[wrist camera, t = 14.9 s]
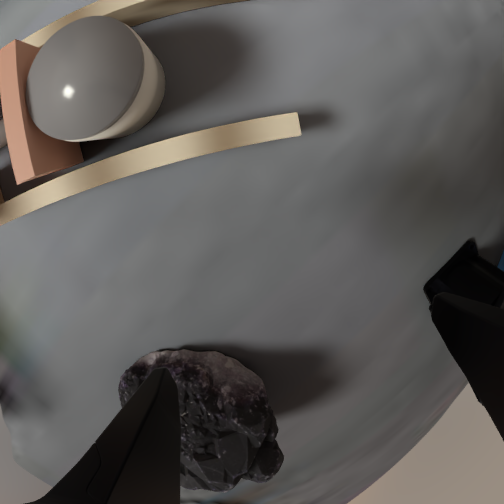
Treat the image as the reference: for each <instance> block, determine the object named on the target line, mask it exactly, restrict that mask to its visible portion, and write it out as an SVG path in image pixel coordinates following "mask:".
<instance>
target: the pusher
mask: <svg viewBox="0 0 504 504" xmlns="http://www.w3.org/2000/svg"><path fill="white" fill-rule="evenodd" d="M40 49H41V48H38V47H36V46H33V45H30V44H28V43H25V42H22V41H19V40H16V39H15V40H13V41H12V42H10V43H9V44H7V45H6V46H5V47H3V48H2V49H0V95H1V104H2V112H3V119H2V120H0V149H1V148H2V147H4V146H5V145H7V144H8V148H9V153H10V157H11V162H12V166H13V170H14V175H15V178H16V182H17V185H18V184H21V183H24V182H27V181H29V180H32V179H35V178H38V177H41V176H44V175H47V174H50V173H53V172H56V171H60V170H63V169H66V168H69V167H72V166H74V165H77V164H79V163H82V162H84V160H83V156H82V152H81V148H80V144H79V142H71V141H65V140H60V139H56V138H53V137H51V136H49V135H47V134H45V133H44V132H42V131H41V130H40V129H39V128H38V127H37V126H36V125H35V123H34V122H33V120H32V118H31V116H30V114H29V111H28V108H27V103H26V83H27V78H28V74H29V71H30V68H31V65H32V63H33V61H34V59H35V57H36V55H37V54H38V52H39V50H40Z"/></svg>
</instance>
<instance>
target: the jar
mask: <svg viewBox="0 0 504 504" xmlns="http://www.w3.org/2000/svg"><path fill="white" fill-rule="evenodd" d="M165 83H166V81H165V74H164V70H163V68H162V65H161V63H160V62H159V60H158V59H157V58H156V56H155V55H154V54H153V53H152V51H151V50H150V49H149V48H148V46H147V45H146V44H145V43H144V42H143V40H142V39H141V38H140V37H139V35H138V34H137V33H136V32H135V31H134V30H133V29H132V28H131V27H129V26H128V25H126V24H124V23H122V22H121V21H119V20H117V19H114V18H111V17H107V16H89V17H85V18H81V19H78V20H76V21H73V22H71V23H69V24H67V25H65V26H64V27H62V28H61V29H60V30H58V31H57V32H56V33H55V34H53V35H52V36H51V37H50V38H49V39H48V40H47V41H46V43H45V44H44V45H43V46H42V48H41V49H40V50H39V52H38V54H37V55H36V57H35V59H34V61H33V63H32V65H31V68H30V71H29V74H28V78H27V83H26V103H27V108H28V111H29V114H30V116H31V118H32V120H33V122H34V123H35V125H36V126H37V127H38V128H39V129H40V130H41V131H42V132H44V133H45V134H47V135H49V136H51V137H53V138H56V139H60V140H65V141H71V142H80V141H89V140H100V139H112V138H121V137H125V136H128V135H130V134H133V133H134V132H136V131H138V130H139V129H141V128H142V127H144V126H145V125H146V124H147V123H148V122H149V121H150V120H151V119H152V118H153V117H154V115H155V114H156V112H157V111H158V109H159V107H160V105H161V103H162V100H163V97H164V93H165Z"/></svg>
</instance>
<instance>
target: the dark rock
mask: <svg viewBox="0 0 504 504" xmlns="http://www.w3.org/2000/svg"><path fill="white" fill-rule="evenodd" d="M161 367H166V368H168V370H169V371H170V373H171V375H172V377H173V379H174V381H175V383H176V385H177V388H178V398H179V411H180V423H181V457H180V486H182V487H184V488H186V489H191V490H196V489H204V490H211V491H215V492H225V493H226V492H228V491H229V490H231V489H233V488H234V487H235V486H236V484H237V483H238V482H239V481H240V479H241V478H243V479H246V480H251V481H255V482H258V483H263V482H267V481H269V480H270V479H272V478H273V477H274V476H275V474H276V473H277V472H278V471H279V469H280V467H281V465H282V463H283V460H284V455H283V453H282V451H281V450H280V448H279V446H278V443H277V441H276V440H275V438H276V436H277V433H278V427H277V424H276V419H275V417H274V415H273V411H272V410H271V407H270V406H269V404H268V398H267V392H266V389H265V386H264V383H263V381H262V379H261V378H260V377H259V376H258V375H256V374H255V373H254V372H253V371H251V370H249V369H247V368H246V367H244V366H243V365H242V364H241V363H240V362H239V361H238V360H236V359H234V358H231V357H228V356H224V355H223V354H222V353H219V352H216V351H206V352H195V351H189V350H186V349H183V350H179V351H169V350H166V351H162V352H158V351H155V352H151V353H149V354H148V355H146V356H144V357H141V358H140V359H139V360H138V361H136V362H135V363H134V364H133V365H132V366H131V367H130V368H129V369H128V370H126V371H125V373H124V374H123V375H122V376H121V378H120V383H119V389H118V391H119V398H120V401H121V406H122V408H123V406H124V405H125V404H126V403H127V402H128V400H129V399H130V398H131V397H132V395H133V394H134V393H135V392H136V390H137V389H138V388H139V387H140V385H141V384H142V383H143V382H144V380H145V379H146V378H147V377H148V375H149V374H150V373H151V372H152V371H153V369H155V368H161Z"/></svg>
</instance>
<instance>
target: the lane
mask: <svg viewBox="0 0 504 504" xmlns="http://www.w3.org/2000/svg"><path fill="white" fill-rule="evenodd" d="M240 1H248V0H99V1H97V2H94V3H92V4H90V5H87V6H85V7H83V8H81V9H79V10H76V11H74V12H72V13H70V14H68V15H66V16H64V17H62V18H60V19H58V20H56V21H55V22H53V23H51V24H49V25H47V26H46V27H44V28H42V29H40V30H39V31H37V32H35V33H34V34H32V35H30V36H29V37H27V38H25V39H24V40H22V42H25V43H28V44H30V45H33V46H36V47H38V48H42V46H43V45H44V44H45V43H46V41H47V40H48V39H49V38H50V37H51V36H52V35H53V34H55V33H56V32H57V31H58V30H60V29H61V28H62V27H64V26H65V25H67V24H69V23H71V22H73V21H76V20H78V19H81V18H85V17H89V16H107V17H111V18H114V19H117V20H119V21H121V22H122V23H124V24H126V25H128V26H129V27H132V26H135V25H138V24H141V23H145V22H148V21H151V20H154V19H158V18H161V17H165V16H169V15H173V14H176V13H181V12H185V11H189V10H194V9H198V8H203V7H209V6H214V5H220V4H226V3H233V2H240ZM295 136H301V130H300V124H299V119H298V114H297V112H295V113H288V114H282V115H276V116H269V117H264V118H258V119H252V120H247V121H242V122H237V123H232V124H227V125H223V126H218V127H214V128H209V129H205V130H201V131H197V132H193V133H189V134H185V135H181V136H178V137H174V138H170V139H167V140H163V141H160V142H156V143H153V144H149V145H146V146H143V147H140V148H137V149H133V150H130V151H127V152H124V153H121V154H118V155H115V156H112V157H110V158H107V159H104V160H101V161H98V162H96V163H93V164H90V165H88V166H85V167H83V168H80V169H77V170H75V171H72V172H70V173H68V174H65V175H63V176H60V177H58V178H56V179H53V180H51V181H49V182H46V183H44V184H42V185H40V186H38V187H35V188H33V189H31V190H29V191H27V192H25V193H23V194H21V195H19V196H16V197H14V198H12V199H10V200H9V201H7V202H4V198H3V195H2V191H1V187H0V226H1V225H3V224H5V223H7V222H9V221H11V220H14V219H16V218H18V217H20V216H22V215H25V214H27V213H29V212H32V211H34V210H36V209H39V208H41V207H44V206H46V205H48V204H51V203H53V202H56V201H58V200H61V199H64V198H66V197H69V196H71V195H74V194H77V193H79V192H82V191H85V190H88V189H90V188H93V187H96V186H99V185H102V184H105V183H108V182H111V181H114V180H117V179H120V178H123V177H126V176H129V175H132V174H136V173H139V172H142V171H146V170H149V169H152V168H156V167H159V166H163V165H167V164H170V163H174V162H178V161H181V160H185V159H189V158H193V157H197V156H201V155H205V154H209V153H214V152H218V151H222V150H227V149H231V148H236V147H241V146H246V145H250V144H256V143H261V142H266V141H271V140H277V139H283V138H289V137H295Z"/></svg>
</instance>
